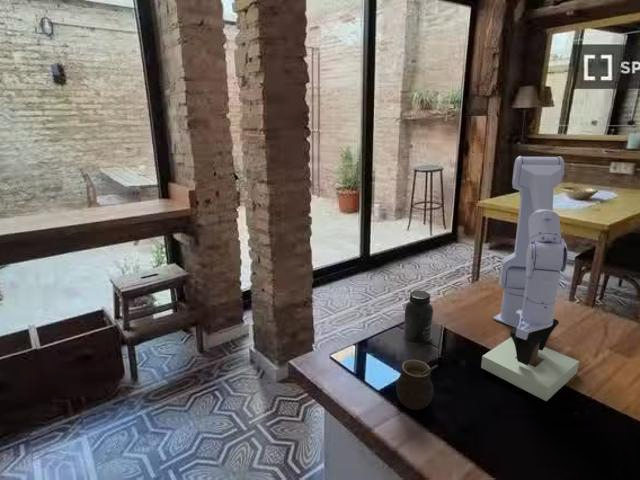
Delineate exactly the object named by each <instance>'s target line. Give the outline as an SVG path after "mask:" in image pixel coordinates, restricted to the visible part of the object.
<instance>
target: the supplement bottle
mask: <svg viewBox="0 0 640 480" xmlns="http://www.w3.org/2000/svg"><path fill="white" fill-rule="evenodd" d="M409 293H410V294H409V300H408V302H407V303H406V304H405V306H404V318H403V319H404V320H403V321H404V322H403V337H404V339H405V340H406V341H408V342H409V343H411V344H415V345H423V344H427V343H429V342H430V341H431V339H432V332H433V331H432V330H433V318H434V308H433V306H432V304H431V295H430V293H429V292H427V291H424V290H413V291H411V292H409Z"/></svg>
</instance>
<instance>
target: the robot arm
mask: <svg viewBox="0 0 640 480" xmlns="http://www.w3.org/2000/svg"><path fill="white" fill-rule="evenodd" d="M564 173H565V160H564V159H563V157H562V156H522V155H519V156H516V158H515V160H514V164H513V172H512V180H511V181H512V182H511V184H512V189H514V190H517V191H519V196H520V197H519V198H520V199H519V208H518V216H517V224H516V225H517V226H516V235H515V236H516V237H515V243H514V244H515V245H514V251H513V252H512V253H510V254H509V255H507V256H505V257H504V258H502V260H501V265H500V268H499V271H498V272H499V274H498V285H499V287H500V288H501V289H503V293H502V300H501V307H500V308H501V310H500V313H498V314H496V315H495V316H493V320H495V321H497V322H500V323H502V324H505V325H508V326H510V327H513V328H512V329H511V330H510V332H509V336H510V337H511V338H512V339H513V342H514V344H515V348H516V355H517V361H518V362H520V363H523V364H525V365H528V364H529V363H530V361H531V358H532V355H533V352H534V350H535V348H536V346H537V345H538V343H539V350H541V351H542V350H543V349H544V347H546V344H547V343H548V341H549V338H550V336H551V334H552V333H553V332H554V329H555V328H556V327H557V326H558V325H559V323H560V321H559V320H558V319H556V318H554V313H555V308H556V307H555V306H556V300H557V295H558V289H559V284H560V279H561V272H562V273H563V272H565V271H566V269H567V265H568V257H569V256H568V255H569V252H568V246H567V243H566V242H565V239H564V238H562V231H561V221H560V215H559V214H558V213H557V212H555V211H554V209H553V207H554V188H557V187H558V186H559V184H560V182H561V181H562V180H563V178H564Z"/></svg>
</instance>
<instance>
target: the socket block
mask: <svg viewBox="0 0 640 480" xmlns="http://www.w3.org/2000/svg"><path fill="white" fill-rule="evenodd" d="M579 365H580V361H579V360H577V359H575V358H572V357H570V356H568V355H565V354H563V353H560V352H557V351H555V350H553V349H551V348H548V347H546V346H545V347H544V349H543V350H542V351H541V350H538V356H537V362H536V367H534V366H532V365H529V364H528V365H525V364H523V363H520V362H518V361H517V355H516V348H515V344H514V342H513V339H512V338H511V336H510V337H509V338H508V339H506V340H505V341H503V342H501V343H499V344H498V345H497V346H495V347H494V348H492V349H491V350H489V351H488V352H486V353H485V354H483V355H482V356H481V365H480V368H481V369H482V370H485V371H487V372H488V373H491V374H492V375H495V376H496V377H498V378H500V379H502V380H504V381H506V382H507V383H510V384H512V385H514V386H515V387H518V388H519V389H521V390H524V391H525V392H528V393H529V394H531V395H534V396H535V397H538V398H539V399H541V400H543V401H545V402H548V401H549V400H550V399H551V398H552V397H553V396H554V395H555V394H556V393H557V392H558V391H559V390H560V389H562V387H564V386H565V384H567V383H568V382H569V381H571V379H572V378H573V377H575V376H576V374H577V373H578V368H579Z"/></svg>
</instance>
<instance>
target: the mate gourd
mask: <svg viewBox="0 0 640 480" xmlns="http://www.w3.org/2000/svg"><path fill="white" fill-rule="evenodd" d="M400 368H401V369H400V375H399V377H398V378H397V381H396V385H395V391H396V396H397V399H398V401H399V402H400V403H401V404H402V405H403V406H404V407H406V408H408V409H410V410H416V411H417V410H419V411H420V410H421V409H424V408H427V407H428V406H429V405H430V403H431V401H432V399H433V398H434V397H433V396H434V386H433V383H432V379H431V375H432V374H431V373H432V371H433V370H435V369H436V368H438V364H435V365H434V366H432V367H430V365H428V363H426V362H424V361H422V360H418V359H408V360H405V361H403V363H402V364H401V367H400Z"/></svg>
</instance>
